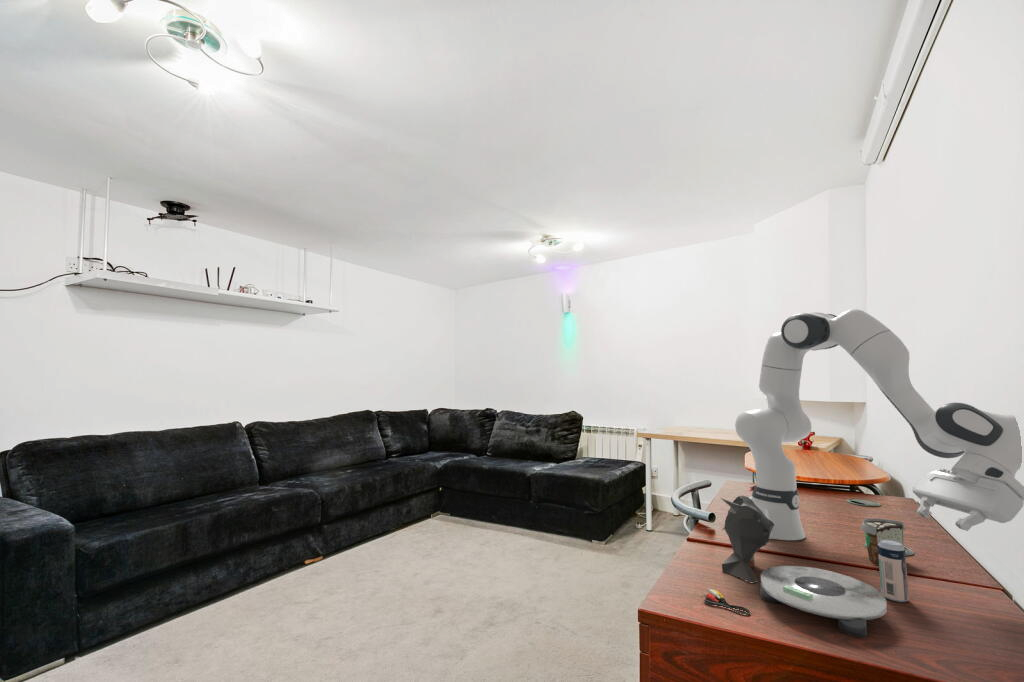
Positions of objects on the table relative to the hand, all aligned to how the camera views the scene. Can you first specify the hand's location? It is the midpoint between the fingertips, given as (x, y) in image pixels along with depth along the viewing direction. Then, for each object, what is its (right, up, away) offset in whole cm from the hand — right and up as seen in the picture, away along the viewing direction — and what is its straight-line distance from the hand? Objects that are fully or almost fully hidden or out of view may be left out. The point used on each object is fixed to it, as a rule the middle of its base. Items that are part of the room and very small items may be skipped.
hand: (940, 521), depth 104 cm
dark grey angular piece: (-36, -18, +15) cm, 43 cm away
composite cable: (-51, -17, -6) cm, 54 cm away
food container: (+3, -19, +21) cm, 28 cm away
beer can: (-11, -17, -2) cm, 20 cm away
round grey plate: (-31, -16, -6) cm, 35 cm away
